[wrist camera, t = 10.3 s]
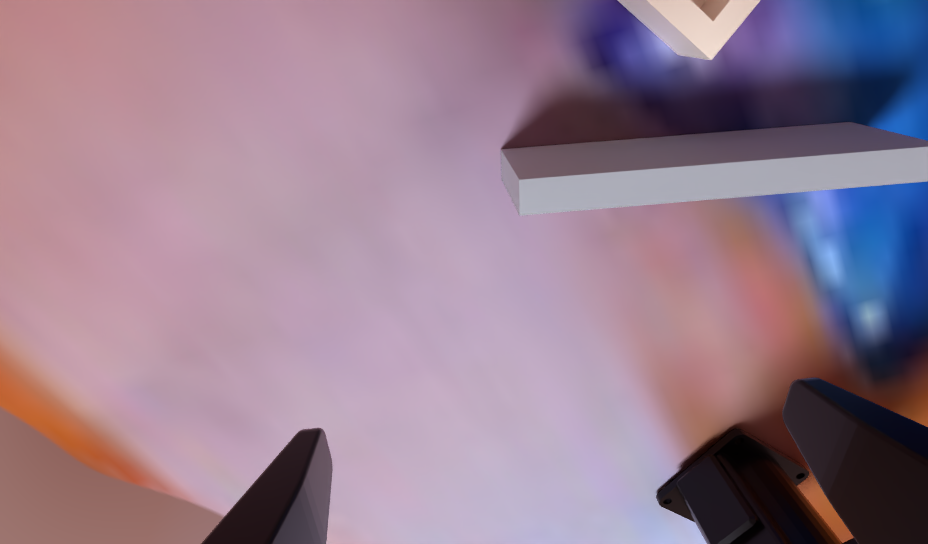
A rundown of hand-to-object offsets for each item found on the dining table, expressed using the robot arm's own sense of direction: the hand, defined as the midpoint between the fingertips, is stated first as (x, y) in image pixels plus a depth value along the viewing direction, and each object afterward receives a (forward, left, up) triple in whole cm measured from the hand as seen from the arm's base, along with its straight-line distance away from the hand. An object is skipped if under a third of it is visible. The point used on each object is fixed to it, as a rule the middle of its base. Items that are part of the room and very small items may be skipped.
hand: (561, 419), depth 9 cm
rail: (-5, -6, -12) cm, 14 cm away
